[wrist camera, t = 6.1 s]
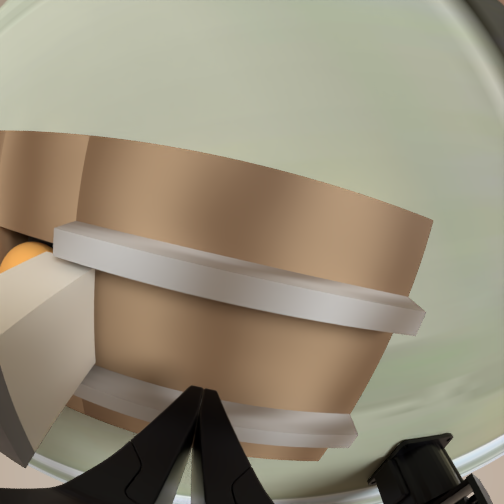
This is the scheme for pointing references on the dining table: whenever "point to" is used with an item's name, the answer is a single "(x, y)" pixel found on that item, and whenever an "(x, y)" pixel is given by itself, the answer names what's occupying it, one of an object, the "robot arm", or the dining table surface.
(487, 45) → the dining table surface
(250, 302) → the board
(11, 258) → the ball
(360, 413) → the dining table surface
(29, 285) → the plunger
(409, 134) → the dining table surface
